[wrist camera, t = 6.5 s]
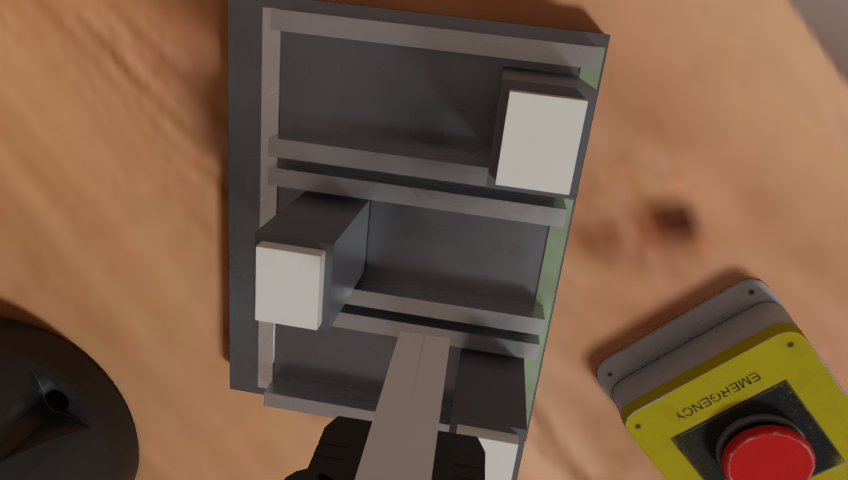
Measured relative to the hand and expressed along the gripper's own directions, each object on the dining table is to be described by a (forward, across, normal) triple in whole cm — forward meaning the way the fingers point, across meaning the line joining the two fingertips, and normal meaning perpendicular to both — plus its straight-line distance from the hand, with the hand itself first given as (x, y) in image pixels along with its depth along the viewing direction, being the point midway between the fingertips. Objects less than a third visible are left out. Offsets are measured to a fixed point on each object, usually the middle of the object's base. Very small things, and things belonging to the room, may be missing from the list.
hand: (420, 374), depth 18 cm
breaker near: (+10, +3, +7) cm, 13 cm away
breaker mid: (+11, -5, 0) cm, 12 cm away
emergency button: (+13, +17, -8) cm, 22 cm away
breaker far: (+11, +3, -6) cm, 13 cm away
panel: (+12, -3, 0) cm, 13 cm away
